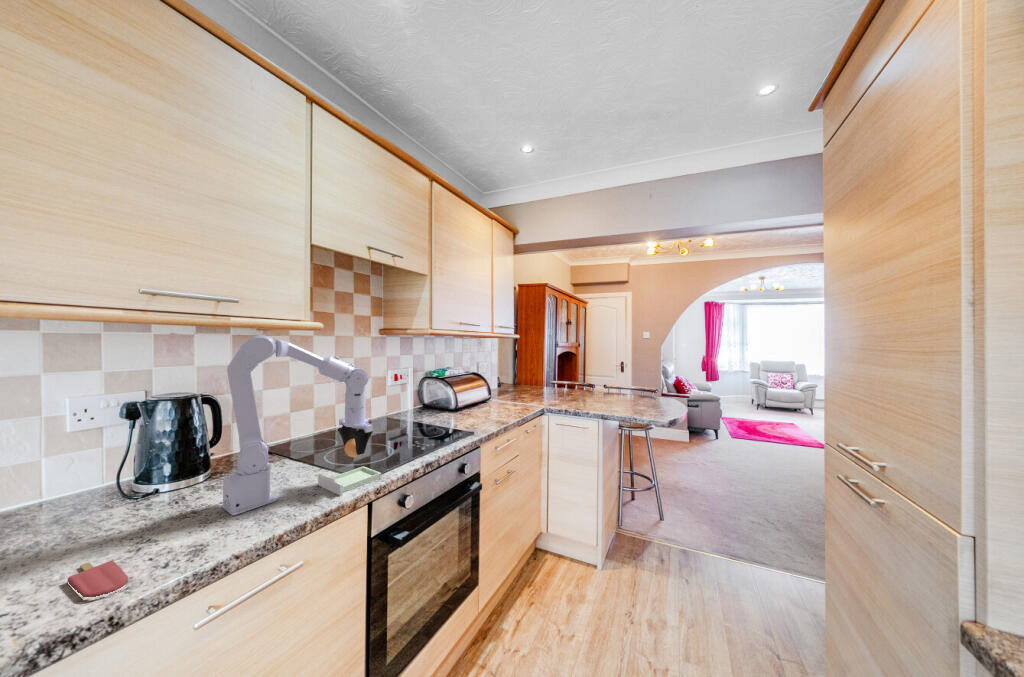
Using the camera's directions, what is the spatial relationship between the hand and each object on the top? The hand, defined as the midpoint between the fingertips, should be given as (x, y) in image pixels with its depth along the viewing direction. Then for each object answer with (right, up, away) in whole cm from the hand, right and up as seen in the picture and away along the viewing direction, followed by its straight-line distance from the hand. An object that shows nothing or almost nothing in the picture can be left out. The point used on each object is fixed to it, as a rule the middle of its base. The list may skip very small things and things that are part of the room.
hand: (354, 451), depth 103 cm
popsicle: (-26, -9, -43) cm, 51 cm away
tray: (0, -9, 0) cm, 9 cm away
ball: (0, +1, 0) cm, 1 cm away
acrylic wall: (-4, -9, -6) cm, 12 cm away
